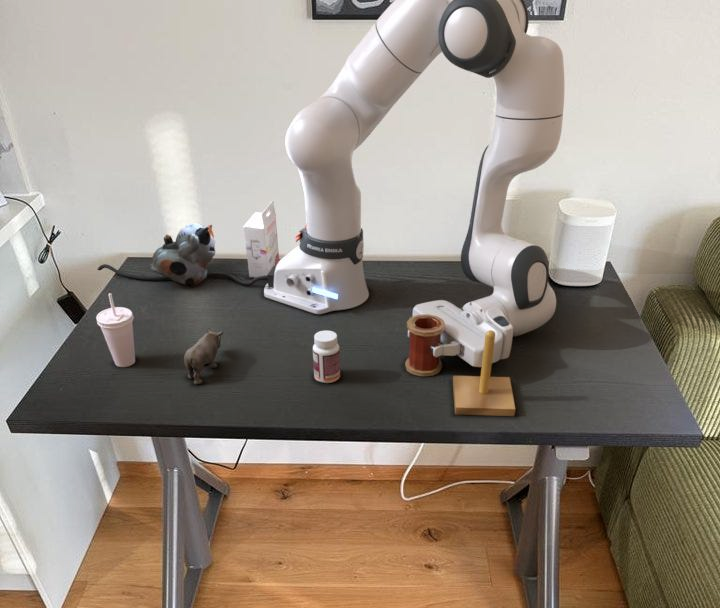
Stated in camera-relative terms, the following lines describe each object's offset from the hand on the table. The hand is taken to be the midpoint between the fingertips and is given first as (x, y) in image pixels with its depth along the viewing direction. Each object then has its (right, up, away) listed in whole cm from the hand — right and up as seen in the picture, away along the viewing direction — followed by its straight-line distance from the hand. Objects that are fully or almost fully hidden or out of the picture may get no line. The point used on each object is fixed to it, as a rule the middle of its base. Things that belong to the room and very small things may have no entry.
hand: (420, 343), depth 137 cm
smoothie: (-55, -3, +5) cm, 55 cm away
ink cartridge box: (-33, +23, +36) cm, 53 cm away
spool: (+1, -4, +4) cm, 5 cm away
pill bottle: (-17, -6, +1) cm, 18 cm away
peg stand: (+10, -10, -4) cm, 15 cm away
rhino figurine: (-39, -3, +4) cm, 39 cm away
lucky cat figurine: (-50, +21, +34) cm, 64 cm away
